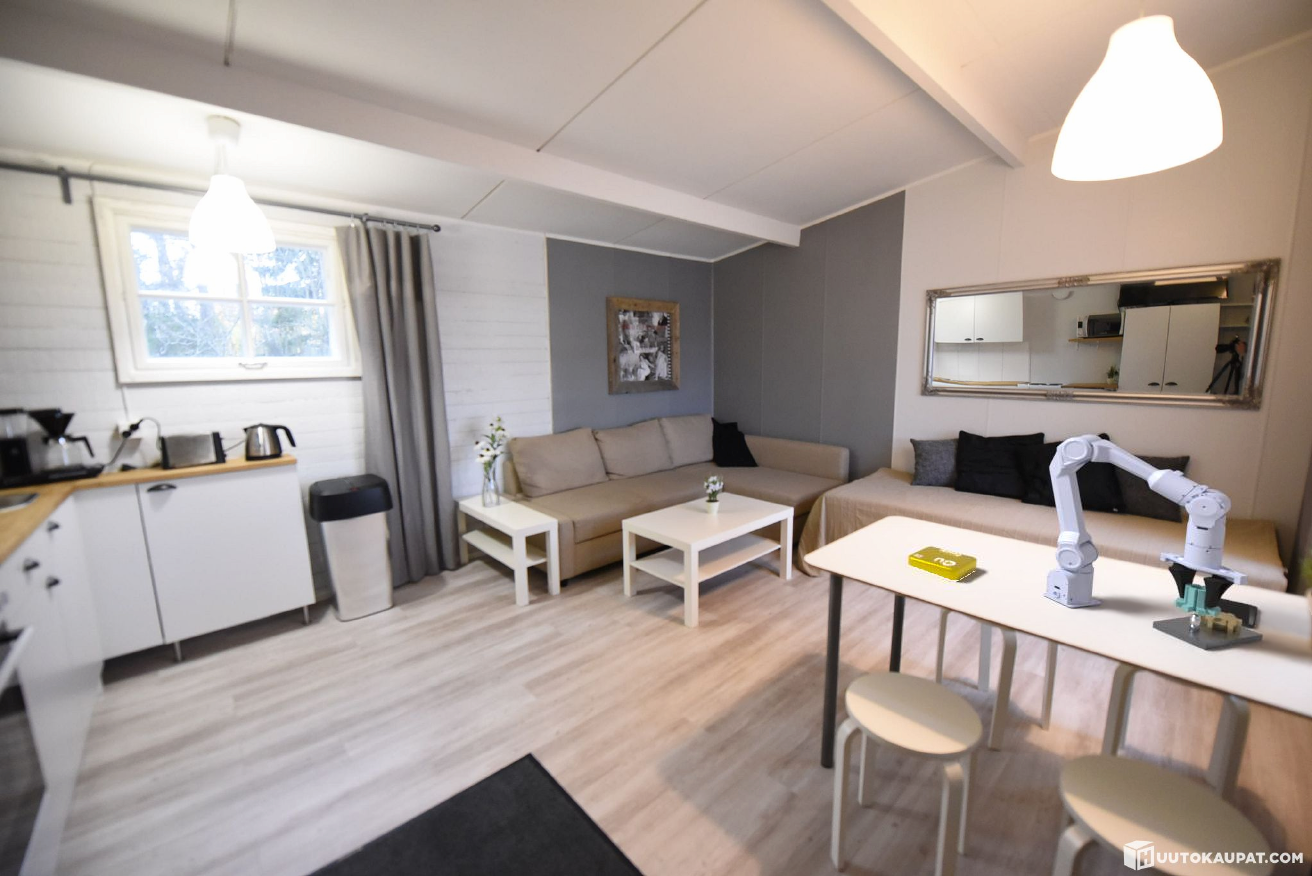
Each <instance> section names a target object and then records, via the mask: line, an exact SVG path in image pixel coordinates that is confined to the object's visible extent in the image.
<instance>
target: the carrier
mask: <svg viewBox="0 0 1312 876" xmlns="http://www.w3.org/2000/svg"><path fill="white" fill-rule="evenodd" d="M1241 625H1242V620H1241V619H1237V618H1236V617H1235V616H1234V615H1233V614H1230V613H1224V612H1221V613H1220V614H1219V616H1216V617H1214V616H1211V615H1208V614H1206V616H1201V615H1198V614H1197V613H1192V614H1190V615H1188V616H1183V617H1176V618H1175V617H1173V618H1168V619H1161V620H1154V621H1152V628H1153V629H1156V630H1157V631H1160V632H1163V633H1165V634H1167V635H1170V636H1172V637H1174V638H1176V639H1179V640H1180V641H1183V642H1185V643H1188V644H1190V645H1192V646H1195V647H1197V648H1198V649H1202V650H1204V651H1208V650H1214V649H1221V648H1227V647H1233V646H1239V645H1245V644H1252V643H1258V642H1263V639H1264V638H1263V636H1264V635H1263V634H1261V633H1260V632H1257V631H1254V630H1252V629H1250V628H1246V627H1241Z"/></svg>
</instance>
